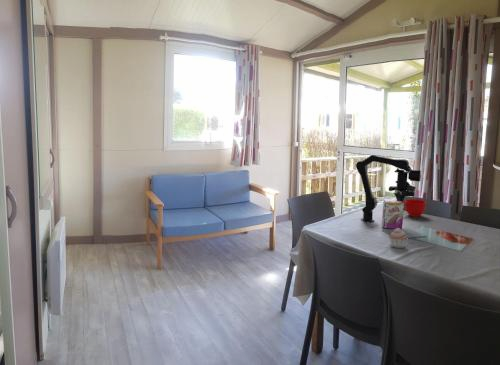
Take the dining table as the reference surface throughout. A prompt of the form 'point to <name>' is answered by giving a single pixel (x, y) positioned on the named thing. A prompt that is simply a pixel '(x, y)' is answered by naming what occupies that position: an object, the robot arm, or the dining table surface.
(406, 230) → the mat
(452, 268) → the dining table surface
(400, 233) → the cupcake
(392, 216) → the candy bar box
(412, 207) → the ceramic cup
